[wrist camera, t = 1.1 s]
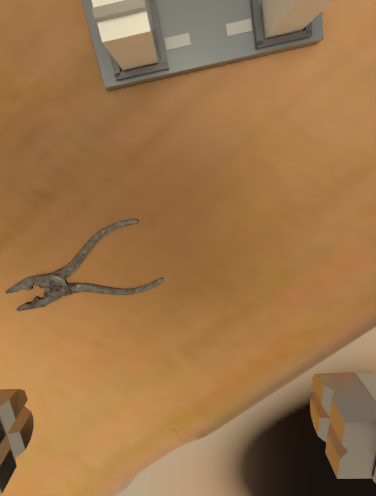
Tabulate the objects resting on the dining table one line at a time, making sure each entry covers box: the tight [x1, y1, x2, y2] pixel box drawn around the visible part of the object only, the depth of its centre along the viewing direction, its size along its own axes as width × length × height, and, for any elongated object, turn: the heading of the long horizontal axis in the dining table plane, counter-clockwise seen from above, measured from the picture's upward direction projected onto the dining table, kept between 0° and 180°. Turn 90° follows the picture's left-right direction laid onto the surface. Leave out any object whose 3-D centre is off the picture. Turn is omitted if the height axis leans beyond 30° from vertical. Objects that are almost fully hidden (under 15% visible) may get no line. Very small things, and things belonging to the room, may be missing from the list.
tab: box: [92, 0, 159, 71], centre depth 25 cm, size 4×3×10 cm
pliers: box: [6, 219, 164, 311], centre depth 39 cm, size 10×1×20 cm
